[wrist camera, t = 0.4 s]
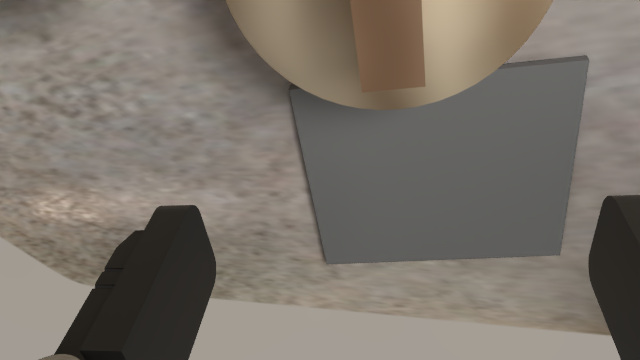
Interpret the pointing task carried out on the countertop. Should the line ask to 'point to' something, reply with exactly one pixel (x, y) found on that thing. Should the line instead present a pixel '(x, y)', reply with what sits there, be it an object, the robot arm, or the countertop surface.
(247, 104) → the countertop surface
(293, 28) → the lid
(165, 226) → the robot arm
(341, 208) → the mat
